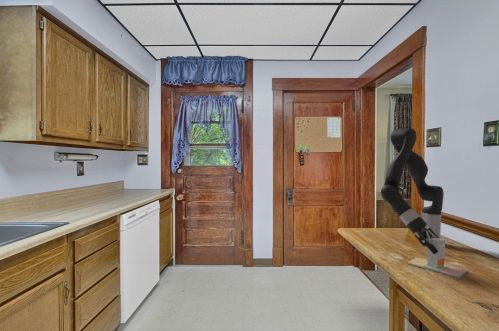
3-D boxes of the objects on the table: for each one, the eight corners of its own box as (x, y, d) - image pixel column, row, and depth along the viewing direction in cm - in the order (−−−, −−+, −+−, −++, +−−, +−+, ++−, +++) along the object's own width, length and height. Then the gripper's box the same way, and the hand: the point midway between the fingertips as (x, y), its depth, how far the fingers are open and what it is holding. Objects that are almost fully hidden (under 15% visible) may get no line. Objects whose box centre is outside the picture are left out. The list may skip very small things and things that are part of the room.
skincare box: (437, 268, 123) (438, 241, 123) (426, 265, 127) (427, 238, 126) (444, 266, 126) (445, 239, 125) (434, 263, 130) (435, 237, 129)
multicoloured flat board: (417, 258, 137) (417, 256, 137) (467, 271, 122) (467, 270, 122) (406, 263, 130) (406, 262, 130) (459, 278, 114) (459, 277, 114)
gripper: (412, 217, 127) (441, 250, 118) (425, 214, 136) (452, 244, 127) (400, 227, 131) (426, 258, 122) (412, 223, 140) (438, 252, 131)
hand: (439, 251), depth 125 cm, fingers open, 8 cm apart
